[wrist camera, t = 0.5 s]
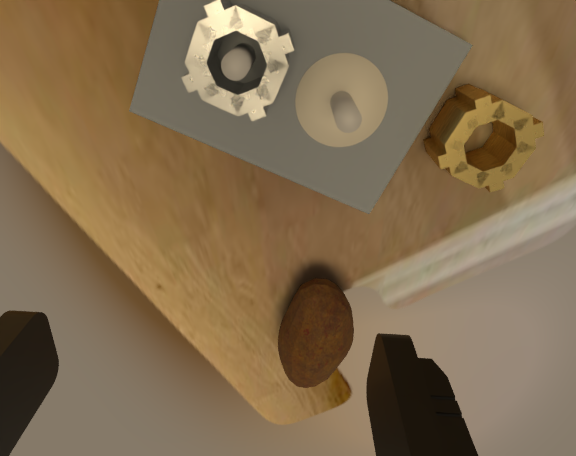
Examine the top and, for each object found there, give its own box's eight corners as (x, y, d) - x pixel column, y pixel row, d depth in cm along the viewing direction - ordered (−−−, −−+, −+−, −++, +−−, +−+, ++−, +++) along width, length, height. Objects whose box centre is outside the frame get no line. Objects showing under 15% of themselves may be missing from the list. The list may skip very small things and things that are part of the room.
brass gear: (460, 78, 31) (481, 88, 28) (524, 111, 32) (552, 125, 29) (416, 148, 34) (430, 165, 30) (478, 177, 35) (498, 197, 31)
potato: (357, 263, 39) (369, 313, 33) (341, 356, 45) (348, 413, 39) (283, 258, 39) (281, 307, 33) (276, 352, 45) (273, 408, 38)
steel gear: (218, -9, 28) (207, -9, 24) (300, 32, 29) (300, 38, 25) (190, 77, 30) (176, 88, 27) (266, 112, 31) (262, 127, 28)
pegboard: (194, -103, 26) (166, -130, 21) (465, 42, 30) (504, 54, 24) (136, 106, 33) (102, 130, 27) (366, 206, 36) (379, 245, 31)
